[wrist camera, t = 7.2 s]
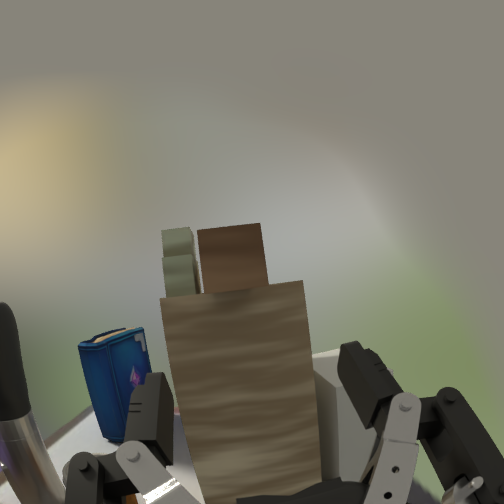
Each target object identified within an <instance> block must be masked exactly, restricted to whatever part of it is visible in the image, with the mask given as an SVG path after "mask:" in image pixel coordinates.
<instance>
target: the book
mask: <svg viewBox="0 0 504 504" xmlns="http://www.w3.org/2000/svg"><path fill="white" fill-rule="evenodd" d="M78 350H79V354H80V359H81V364H82V368H83V372H84V376H85V380H86V384H87V387H88V391H89V394H90V398H91V401H92V405H93V408H94V411H95V415H96V418H97V421H98V424H99V427H100V429H101V432H102V435H103V437H104V438H106V439H109V440H111V441H114V442H123V441H124V437H125V430H126V423H127V417H128V413H129V411H128V410H129V405H130V399H131V393H132V392H133V390H134V389H135V387H136V386H137V385H144V384H145V378H146V374H147V373H152V370H151V365H150V360H149V355H148V350H147V345H146V339H145V334H144V329H143V328H142V327H139V328H129V329H126V328H121V329H116V330H111V331H108V332H105V333H102V334H99V335H96V336H94V337H93V338H92V339H91V340H87V341H83V342H81V343H80V344H79V345H78Z"/></svg>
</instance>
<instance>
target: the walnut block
mask: <svg viewBox="0 0 504 504" xmlns="http://www.w3.org/2000/svg"><path fill="white" fill-rule="evenodd" d="M197 235H198V245H199V254H200V263H201V271H202V279H203V287H204V294H211V293H219V292H227V291H235V290H242V289H250V288H257V287H265V286H269V283H268V276H267V268H266V261H265V254H264V247H263V240H262V232H261V226H260V223H254V224H245V225H237V226H228V227H219V228H210V229H202V230H197Z"/></svg>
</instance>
